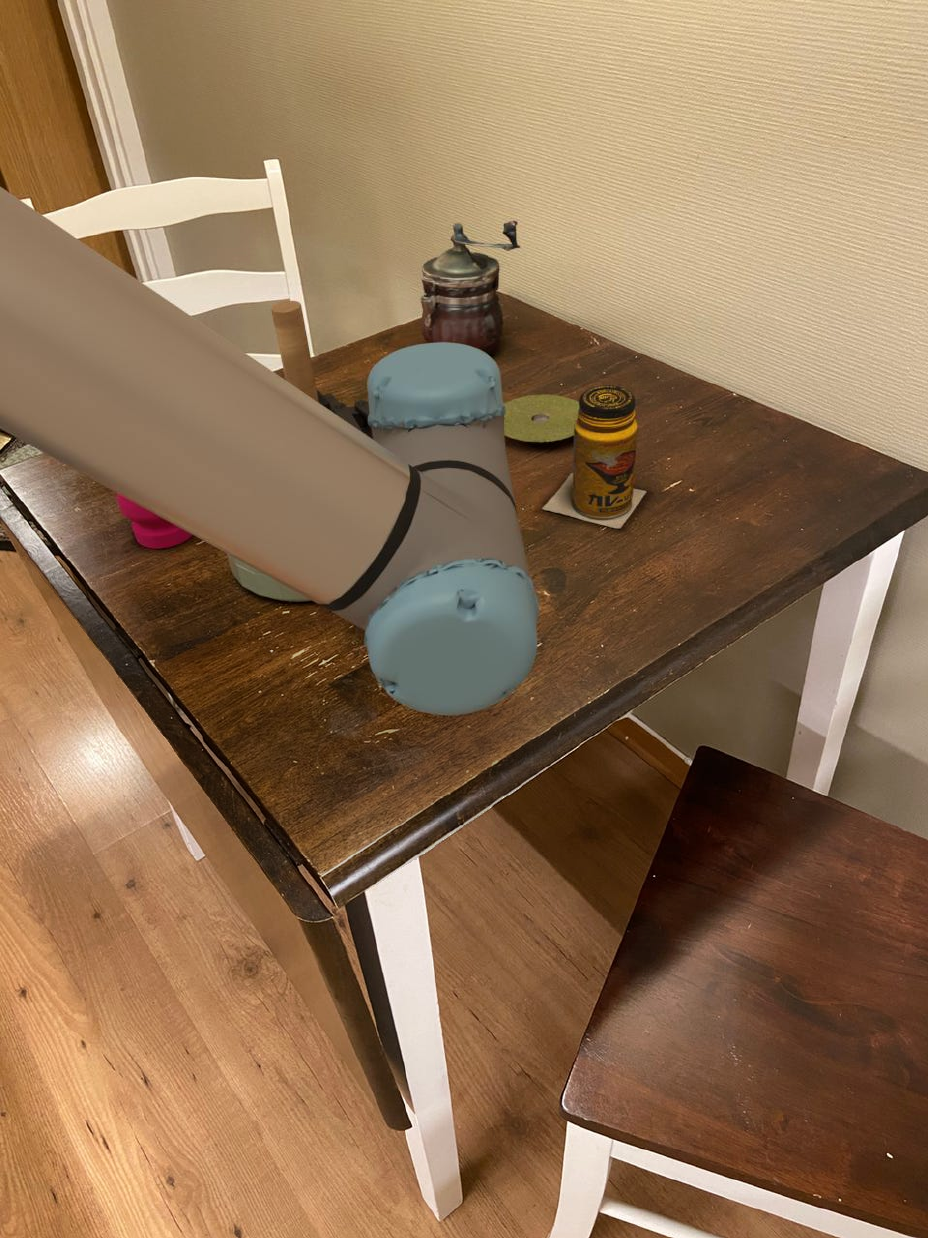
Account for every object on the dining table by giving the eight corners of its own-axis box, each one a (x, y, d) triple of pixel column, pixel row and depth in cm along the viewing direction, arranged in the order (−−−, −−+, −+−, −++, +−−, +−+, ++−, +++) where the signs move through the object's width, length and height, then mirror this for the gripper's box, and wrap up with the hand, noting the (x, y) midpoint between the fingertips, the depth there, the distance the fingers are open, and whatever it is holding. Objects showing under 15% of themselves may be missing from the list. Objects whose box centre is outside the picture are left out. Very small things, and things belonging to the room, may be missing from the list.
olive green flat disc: (596, 411, 105) (596, 396, 103) (582, 460, 97) (583, 444, 95) (503, 406, 107) (503, 391, 106) (482, 452, 99) (482, 437, 98)
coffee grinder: (501, 383, 112) (496, 236, 100) (405, 363, 118) (389, 222, 107) (547, 345, 120) (547, 204, 108) (455, 328, 126) (445, 193, 115)
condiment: (620, 530, 86) (627, 419, 78) (541, 510, 90) (541, 402, 82) (646, 493, 91) (656, 384, 83) (571, 475, 94) (573, 370, 86)
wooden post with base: (296, 550, 83) (243, 321, 68) (306, 516, 87) (259, 294, 73) (355, 548, 82) (314, 317, 68) (362, 514, 87) (326, 291, 72)
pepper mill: (130, 520, 93) (62, 338, 80) (200, 506, 94) (144, 323, 81) (132, 559, 88) (59, 369, 75) (205, 542, 89) (147, 354, 76)
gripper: (302, 591, 64) (215, 455, 81) (486, 526, 69) (369, 409, 86) (281, 505, 60) (193, 378, 76) (482, 441, 64) (359, 334, 81)
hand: (287, 395), depth 81 cm, fingers closed on wooden post with base, 2 cm apart
